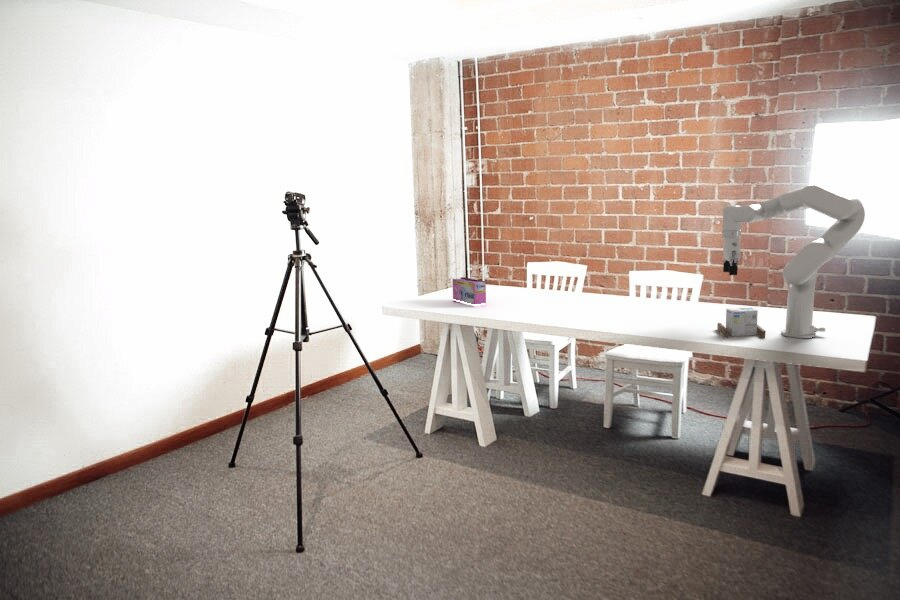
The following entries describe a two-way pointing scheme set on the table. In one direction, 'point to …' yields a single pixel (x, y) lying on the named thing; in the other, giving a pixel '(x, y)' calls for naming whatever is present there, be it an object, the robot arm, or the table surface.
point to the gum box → (469, 290)
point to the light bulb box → (741, 321)
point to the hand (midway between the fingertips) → (730, 273)
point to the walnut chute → (725, 332)
